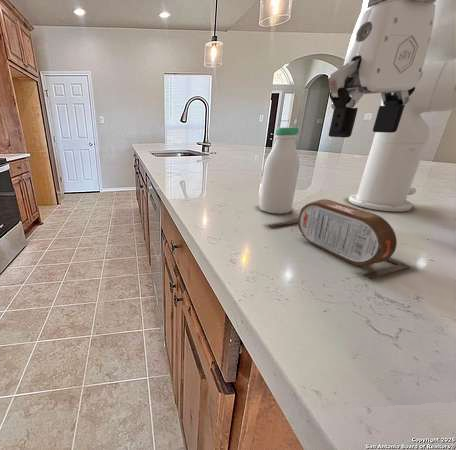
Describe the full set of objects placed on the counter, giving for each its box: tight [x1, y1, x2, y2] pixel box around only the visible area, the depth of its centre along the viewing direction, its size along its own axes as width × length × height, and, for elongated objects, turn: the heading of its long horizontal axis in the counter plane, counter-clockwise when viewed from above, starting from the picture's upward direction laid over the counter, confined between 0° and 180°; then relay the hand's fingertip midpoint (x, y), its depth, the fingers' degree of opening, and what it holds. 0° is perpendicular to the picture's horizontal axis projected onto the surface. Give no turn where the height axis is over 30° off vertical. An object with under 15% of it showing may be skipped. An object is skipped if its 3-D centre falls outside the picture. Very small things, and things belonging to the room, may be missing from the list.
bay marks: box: [268, 219, 412, 280], centre depth 46 cm, size 8×21×1 cm, turn 17°
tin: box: [297, 198, 398, 267], centre depth 41 cm, size 15×3×8 cm, turn 17°
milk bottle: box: [258, 126, 300, 214], centre depth 60 cm, size 8×8×20 cm
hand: (362, 134), depth 39 cm, fingers open, 9 cm apart
